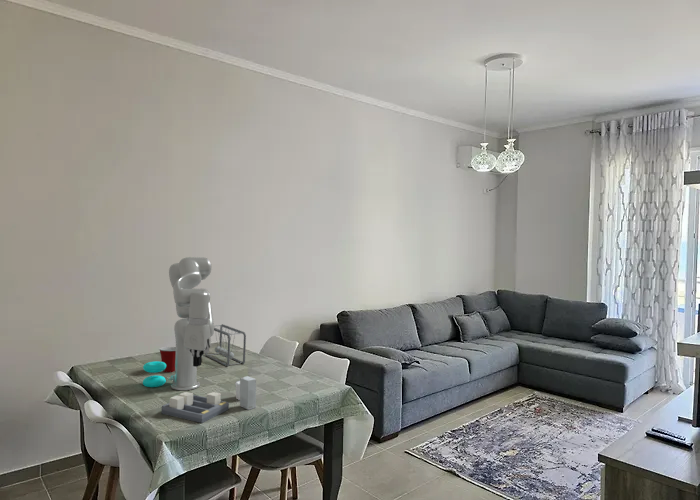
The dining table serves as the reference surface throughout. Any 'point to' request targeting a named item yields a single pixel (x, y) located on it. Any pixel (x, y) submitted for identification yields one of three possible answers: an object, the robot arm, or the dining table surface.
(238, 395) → the grey cylinder
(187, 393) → the tab middle
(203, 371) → the dining table surface
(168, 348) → the plastic cup
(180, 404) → the white cube
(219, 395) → the tab inner
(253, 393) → the skincare box
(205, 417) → the switch bank
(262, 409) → the dining table surface
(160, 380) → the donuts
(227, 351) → the newton's cradle
